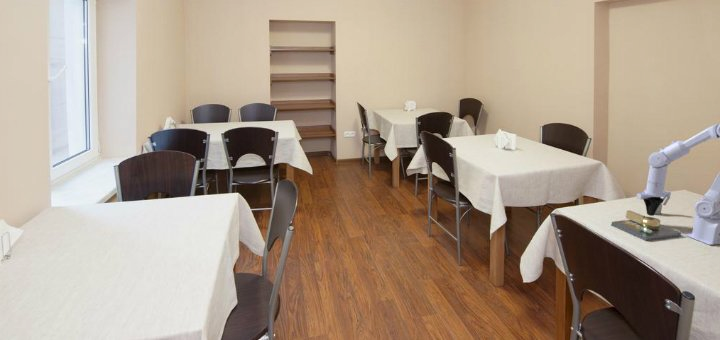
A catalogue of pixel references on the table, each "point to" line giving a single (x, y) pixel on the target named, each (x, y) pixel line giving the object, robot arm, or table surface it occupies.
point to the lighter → (662, 204)
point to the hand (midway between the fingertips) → (650, 214)
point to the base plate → (643, 235)
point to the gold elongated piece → (644, 220)
